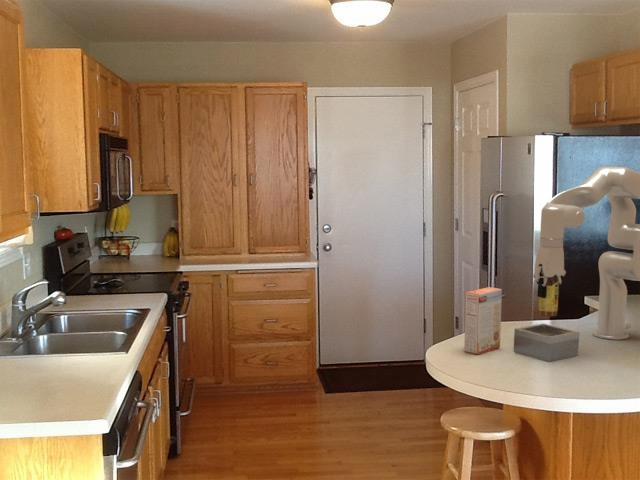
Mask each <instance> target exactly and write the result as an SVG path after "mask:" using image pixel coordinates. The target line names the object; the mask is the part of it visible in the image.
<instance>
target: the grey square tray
mask: <svg viewBox="0 0 640 480" xmlns="http://www.w3.org/2000/svg"><path fill="white" fill-rule="evenodd" d="M513 331H514V334H513V352H514V353H517V354H521V355H524V356H527V357H531V358H534V359H538V360H541V361H544V362H548V363H551V362H556V361H560V360H564V359H568V358H573V357H577V355H578V356H579V345H580V331H576V330H571V329H568V328H564V327H560V326H555V325H551V324H547V323H539V324H538V323H537V324H533V325H528V326H523V327H517V328H514V330H513Z"/></svg>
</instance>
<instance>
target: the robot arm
mask: <svg viewBox="0 0 640 480" xmlns="http://www.w3.org/2000/svg"><path fill="white" fill-rule="evenodd" d="M605 196H607V198H608V201H609V202H610V206H611V207H610V209H611V214H610V220H609V225H608V226H609V227H608V231H607V243H608V245H609V246H611V247H613V248H616V249H624V250H630V251H633V253H630V252H624V251H623V252H622V251H613V250H610V251H605V252H603V253H602V254H601V255H600V257H599V259H598V272H599V297H598V311H597V328H596V329H594V330H592V335H593V336H595V337H597V338H600V339H604V340H605V339H606V340H617V341H618V340H627V339H629V337H630V335H629V333H628V332H626V330H629V329H630V328H631V327H632V326H631V324H630V323H626V314H627V299H628V298H627V297H628V289H627V288H628V287H627V285H626V283H625V281H624V280H628V281H629V280H630V281H638V282H640V223H636V215H637V208H636V206H635V203H634V201H633V200H632V199H636V200H640V171H637V170H635V169H633V168H630V167H626V166H625V167H624V166H600V167H598V168H596V169H595V170H594V172H593V173H591V174H590V175H589V176H588V177H587V178H586V179H585V180H584V181H582V182H581V184H579V185H577V186H575V187H572V188H569V189H566V190H564V191H561V192H559V193H558V194H555V195H554V196H553V197H552V198H551V199H549V201H547V203H545V205H544V206H543V207H542V209H541V213H540V216H541V217H540V231H539V232H540V233H539V247H538V248H537V252H536V255H535V261H534V273H533V275H532V277H533V279H534V281H535V283H536V285H537V295H536V296H537V298H539V297H541V298H546V292H547V286H545V285H546V282H547V279H548V278H550V277H553V276H554V275H557V277H558V280H559V289H558V297H559V296H560V294H561V284H562V283H563V282H562V281H563V280H564V277H565V275H566V273H567V271H566V270H565V252H564V236H565V228H570V229H574V228H578V227H581V225H582V224H584V221H585V216H586V215H585V212H584V210H583V208H584V209H585V208H588V207H592V206H595V205H597V204H598V203H599V202H600V201H601V200H603V198H604V197H605ZM542 275H544V276H542ZM542 279H544V280H543V281H542Z"/></svg>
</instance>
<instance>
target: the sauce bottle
mask: <svg viewBox="0 0 640 480" xmlns="http://www.w3.org/2000/svg"><path fill="white" fill-rule="evenodd" d="M542 276H544V275H542ZM543 280H544V279H542V281H543ZM545 286H547V292H546V298H541V297H538V308H537V309H538V315H539V316H542V317H549V318H551V317H557V315H558V309H559V307H558V306H559V296H558V289H559V280H558V277H557V275H554V276H553V277H550V278H548V279H547V282H546V285H545Z"/></svg>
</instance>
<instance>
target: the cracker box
mask: <svg viewBox="0 0 640 480" xmlns="http://www.w3.org/2000/svg"><path fill="white" fill-rule="evenodd" d="M502 293H503V289H502V288H497V287H492V286H487V287H483V288H480V289H475V290H470V291H466V292H465V312H464V313H465V315H464V348H463V350H464V351H463V352H465V353H470V354H472V355H473V354H474V355H477V356H478V355H481V354H484V353H487V352H489V351H492V350H496V349H499V348H501V329H502V327H501V326H502V300H503V299H502V298H503V297H502Z"/></svg>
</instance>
